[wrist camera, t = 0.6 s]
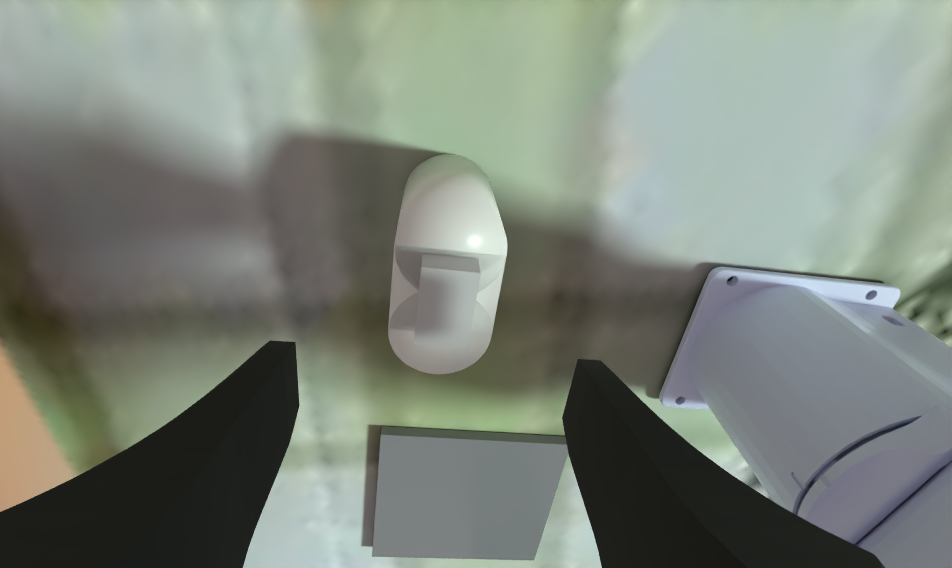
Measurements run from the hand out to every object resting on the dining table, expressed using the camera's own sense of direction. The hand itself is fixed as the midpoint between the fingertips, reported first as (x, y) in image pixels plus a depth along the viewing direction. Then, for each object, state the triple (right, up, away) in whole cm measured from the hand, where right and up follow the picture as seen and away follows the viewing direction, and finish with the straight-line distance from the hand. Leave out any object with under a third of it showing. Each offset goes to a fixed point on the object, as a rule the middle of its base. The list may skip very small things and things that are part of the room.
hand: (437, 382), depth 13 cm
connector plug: (0, +5, +8) cm, 9 cm away
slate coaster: (0, -10, +16) cm, 19 cm away
